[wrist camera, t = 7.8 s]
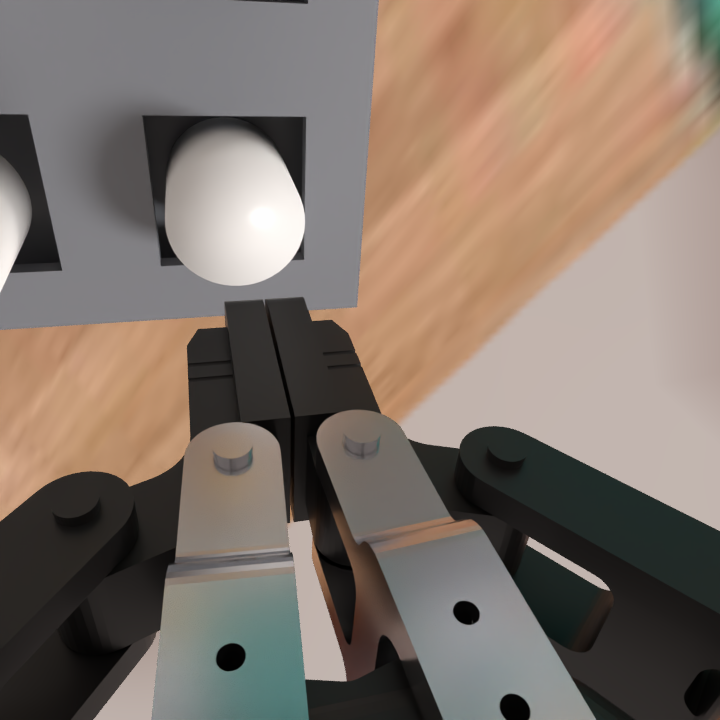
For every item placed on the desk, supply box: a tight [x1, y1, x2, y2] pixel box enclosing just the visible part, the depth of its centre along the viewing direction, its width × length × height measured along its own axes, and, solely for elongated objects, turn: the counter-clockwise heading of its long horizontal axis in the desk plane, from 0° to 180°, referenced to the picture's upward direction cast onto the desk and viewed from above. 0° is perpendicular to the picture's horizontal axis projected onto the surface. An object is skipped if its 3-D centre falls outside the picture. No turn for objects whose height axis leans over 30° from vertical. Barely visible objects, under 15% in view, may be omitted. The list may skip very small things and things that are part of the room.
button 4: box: [165, 117, 305, 286], centre depth 19 cm, size 4×4×4 cm
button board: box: [0, 0, 379, 330], centre depth 18 cm, size 16×16×3 cm
